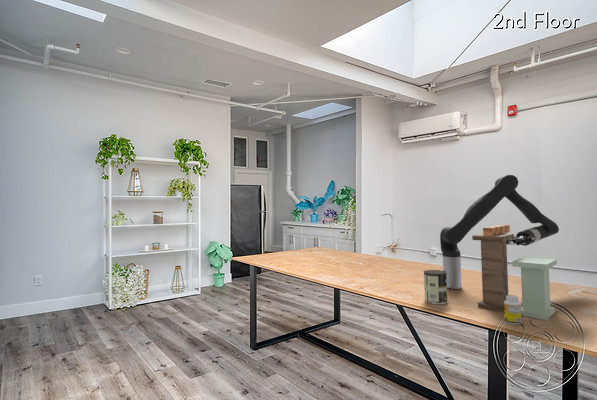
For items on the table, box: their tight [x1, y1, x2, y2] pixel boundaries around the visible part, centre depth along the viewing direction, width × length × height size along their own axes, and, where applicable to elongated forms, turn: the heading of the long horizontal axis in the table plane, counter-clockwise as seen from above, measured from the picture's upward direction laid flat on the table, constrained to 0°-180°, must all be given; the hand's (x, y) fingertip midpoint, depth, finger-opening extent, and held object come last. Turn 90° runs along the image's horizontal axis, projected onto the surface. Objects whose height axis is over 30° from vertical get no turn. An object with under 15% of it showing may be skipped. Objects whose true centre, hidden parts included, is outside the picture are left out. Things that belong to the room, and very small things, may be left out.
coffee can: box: [423, 269, 449, 305], centre depth 166 cm, size 10×10×14 cm
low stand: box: [511, 256, 558, 321], centre depth 145 cm, size 16×12×22 cm
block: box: [482, 224, 511, 236], centre depth 160 cm, size 24×4×4 cm, turn 133°
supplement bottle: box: [503, 294, 522, 326], centre depth 134 cm, size 6×6×10 cm
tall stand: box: [471, 233, 515, 313], centre depth 156 cm, size 16×12×32 cm
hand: (508, 244), depth 174 cm, fingers open, 8 cm apart
